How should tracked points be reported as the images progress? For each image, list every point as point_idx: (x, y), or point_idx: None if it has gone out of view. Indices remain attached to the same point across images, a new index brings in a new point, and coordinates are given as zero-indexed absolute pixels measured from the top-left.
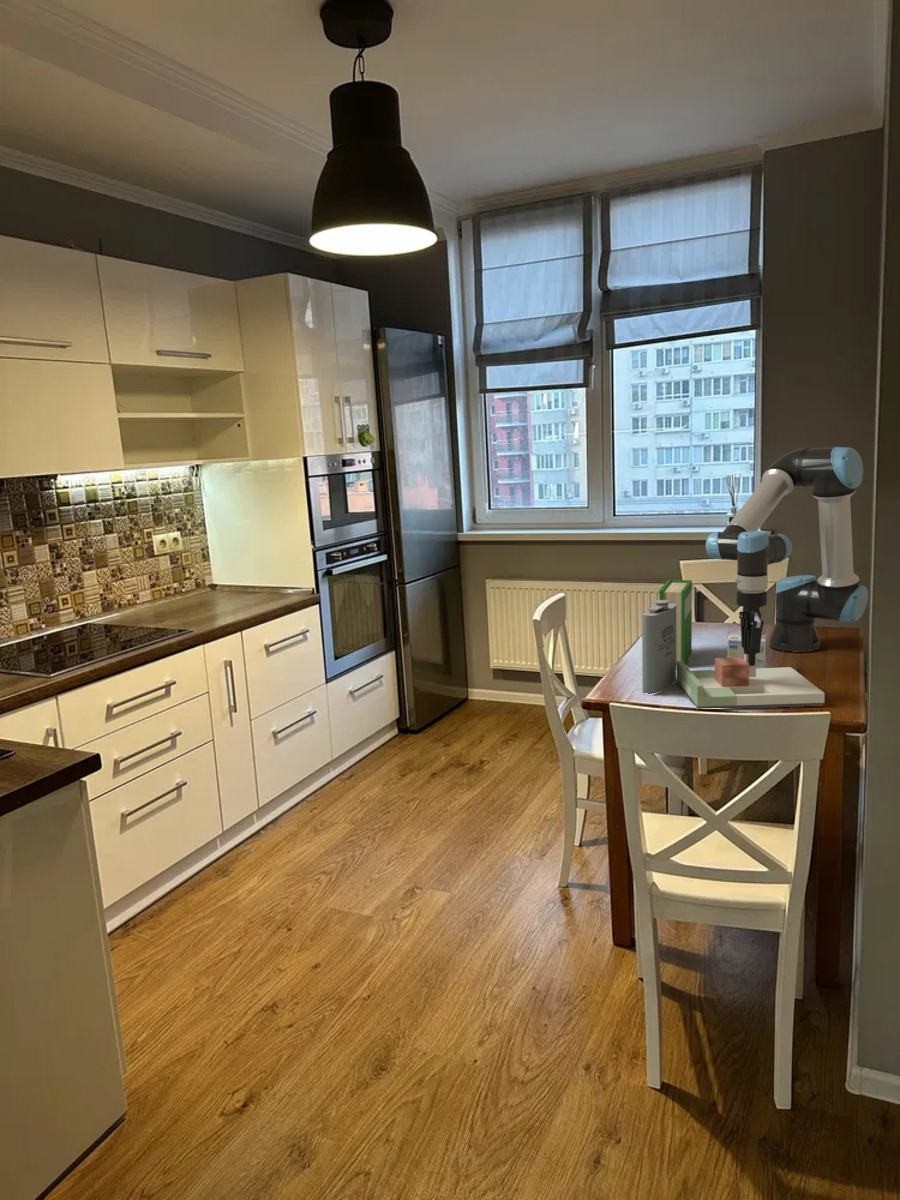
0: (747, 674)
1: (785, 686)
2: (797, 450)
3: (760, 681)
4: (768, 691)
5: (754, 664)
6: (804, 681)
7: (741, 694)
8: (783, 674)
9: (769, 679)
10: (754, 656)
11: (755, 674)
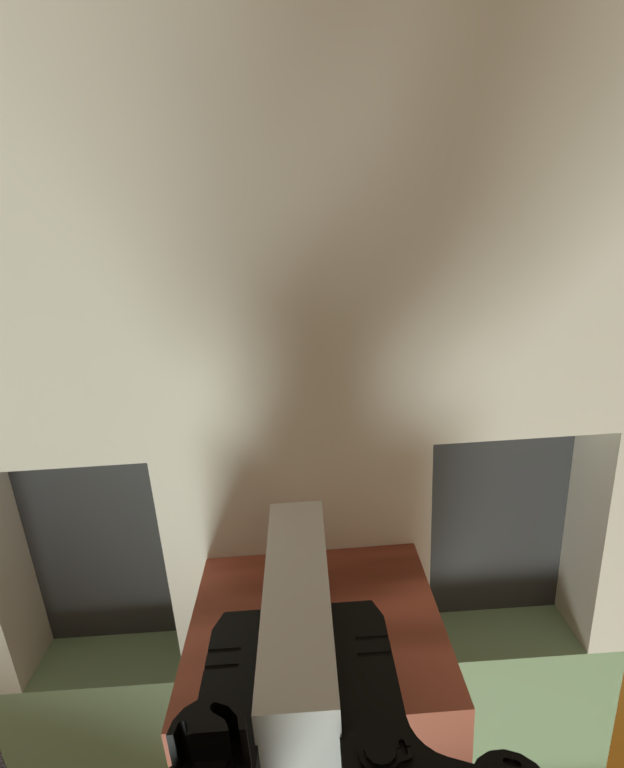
0: (440, 625)
1: (467, 264)
2: None
3: (299, 435)
4: (565, 435)
5: (381, 618)
6: (323, 6)
7: (598, 620)
8: (64, 165)
9: (242, 348)
10: (405, 715)
11: (321, 516)
